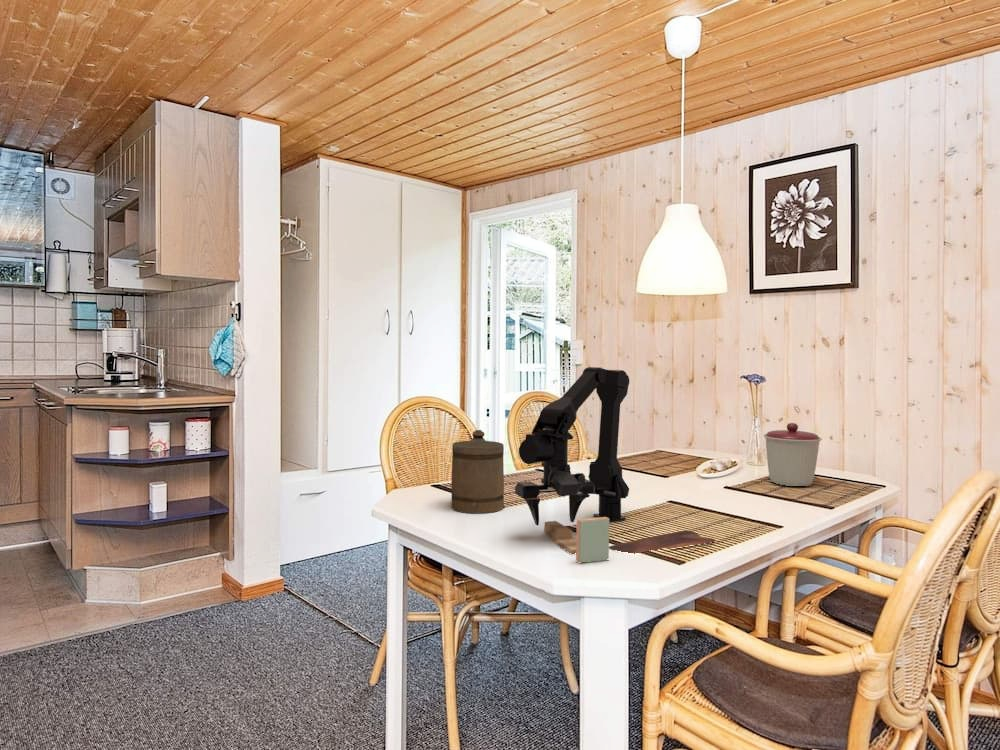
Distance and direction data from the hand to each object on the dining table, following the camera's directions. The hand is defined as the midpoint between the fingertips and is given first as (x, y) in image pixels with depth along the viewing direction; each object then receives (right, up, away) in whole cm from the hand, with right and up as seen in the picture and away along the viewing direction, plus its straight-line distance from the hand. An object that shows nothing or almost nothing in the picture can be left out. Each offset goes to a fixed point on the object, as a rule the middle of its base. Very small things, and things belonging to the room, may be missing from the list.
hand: (554, 523), depth 156 cm
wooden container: (-20, -2, +28) cm, 34 cm away
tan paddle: (+2, -3, -5) cm, 6 cm away
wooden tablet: (+24, -4, -6) cm, 25 cm away
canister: (+86, -2, +65) cm, 108 cm away
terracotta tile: (+7, -4, -18) cm, 20 cm away
